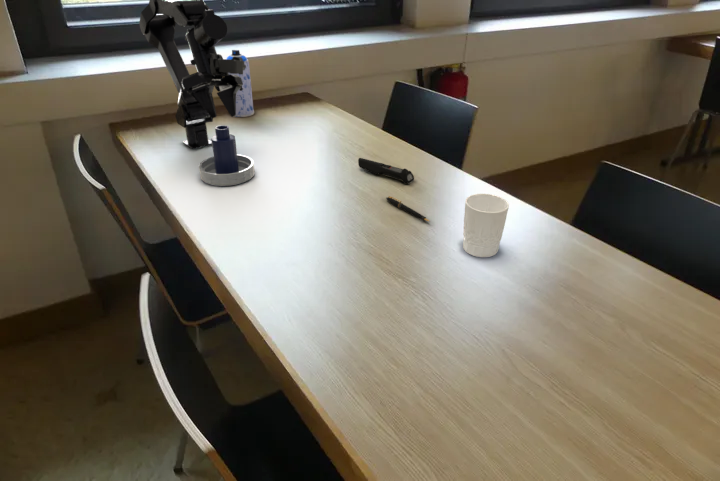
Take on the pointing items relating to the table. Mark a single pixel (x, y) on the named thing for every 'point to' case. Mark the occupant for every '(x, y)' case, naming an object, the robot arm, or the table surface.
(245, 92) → the aerosol can
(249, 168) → the steel dish
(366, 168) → the electric trimmer
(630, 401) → the table surface
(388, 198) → the fountain pen
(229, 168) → the dark blue vase
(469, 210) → the white cup
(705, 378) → the table surface
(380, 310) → the table surface
